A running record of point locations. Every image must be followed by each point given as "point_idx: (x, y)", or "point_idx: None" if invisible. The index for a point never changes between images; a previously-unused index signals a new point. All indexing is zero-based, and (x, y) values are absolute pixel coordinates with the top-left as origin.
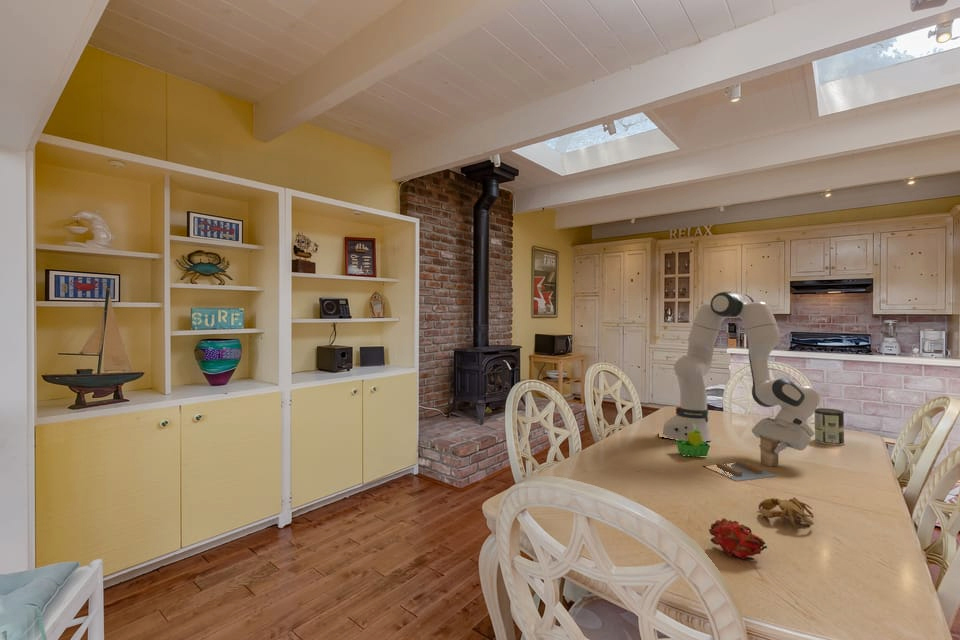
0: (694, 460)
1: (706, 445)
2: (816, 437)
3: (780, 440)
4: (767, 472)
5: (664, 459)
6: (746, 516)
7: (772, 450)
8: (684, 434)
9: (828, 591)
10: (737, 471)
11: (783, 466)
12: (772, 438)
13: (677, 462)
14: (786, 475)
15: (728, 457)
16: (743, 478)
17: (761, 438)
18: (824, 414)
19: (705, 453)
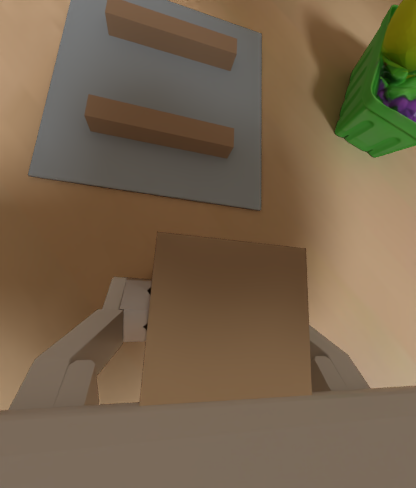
0: (315, 69)
1: (395, 120)
2: None
3: (71, 406)
4: (91, 170)
5: (341, 7)
6: None
7: (145, 280)
8: None
9: None
10: (118, 3)
11: (129, 354)
12: (201, 355)
13: (310, 10)
14: (14, 225)
15: (317, 211)
16: (85, 14)
17: (281, 249)
18: None
19: (346, 114)
